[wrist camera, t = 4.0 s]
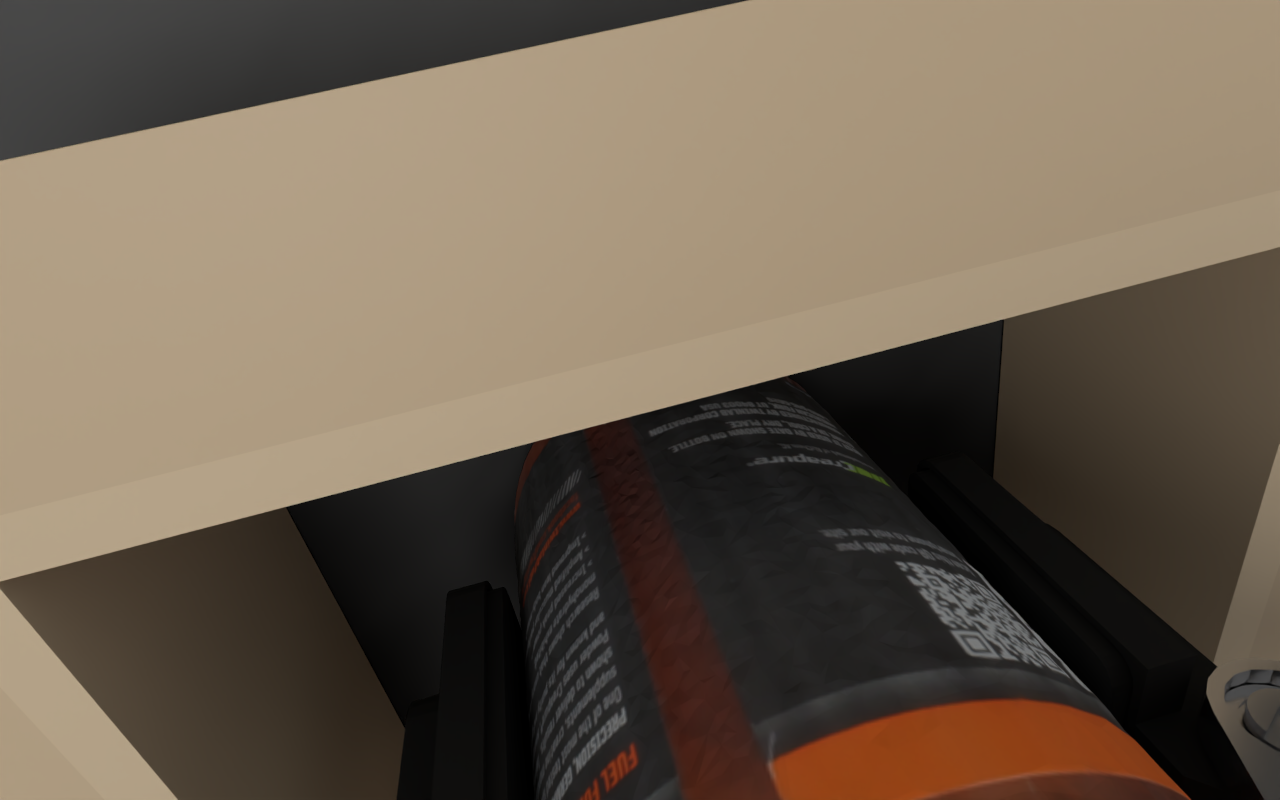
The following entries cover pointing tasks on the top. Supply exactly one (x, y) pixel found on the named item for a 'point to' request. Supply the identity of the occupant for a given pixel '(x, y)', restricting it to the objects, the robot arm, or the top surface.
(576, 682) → the supplement bottle
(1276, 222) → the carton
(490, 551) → the top surface
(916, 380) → the top surface
